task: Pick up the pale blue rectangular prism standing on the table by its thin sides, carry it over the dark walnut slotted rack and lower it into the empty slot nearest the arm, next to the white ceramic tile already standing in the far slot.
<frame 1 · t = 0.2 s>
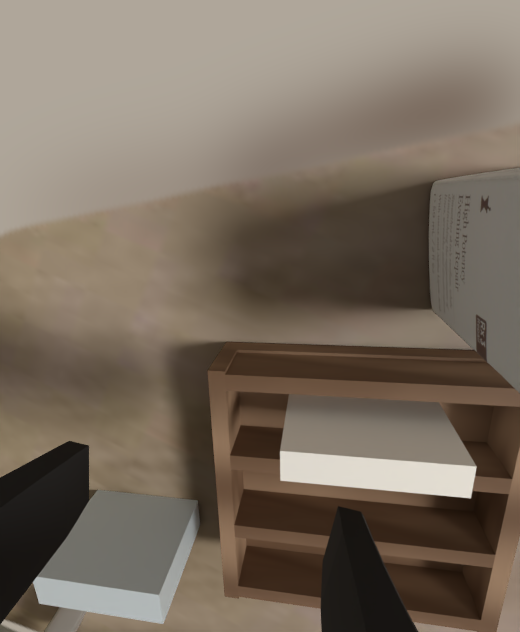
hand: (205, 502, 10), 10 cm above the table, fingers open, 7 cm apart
rack: (353, 461, 21), on the table
pale blue rectangular prism: (148, 506, 24), on the table
skincare box: (480, 245, 16), on the table
lighter: (73, 613, 29), on the table
tile: (359, 403, 18), point 1 cm above the table, touching rack
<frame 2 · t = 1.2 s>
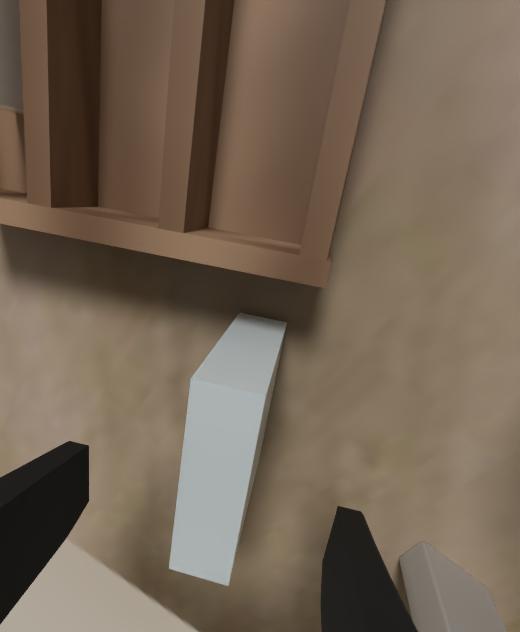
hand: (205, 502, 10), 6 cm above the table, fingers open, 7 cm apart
rack: (166, 27, 12), on the table
pale blue rectangular prism: (250, 390, 16), on the table
lighter: (465, 587, 18), on the table
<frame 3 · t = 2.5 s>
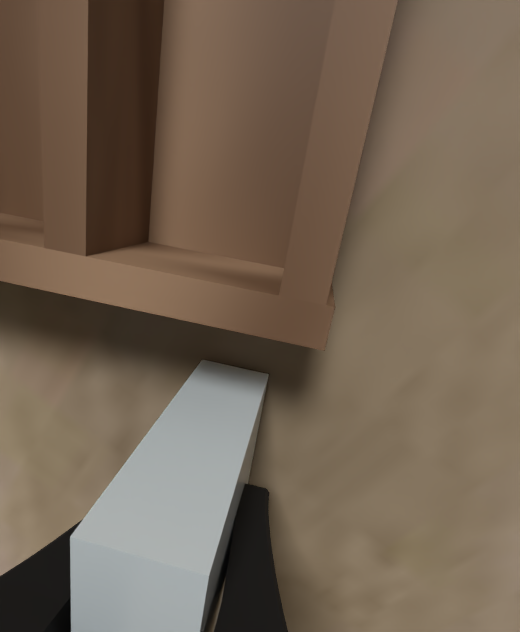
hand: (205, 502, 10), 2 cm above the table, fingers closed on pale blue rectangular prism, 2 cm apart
pale blue rectangular prism: (220, 463, 12), on the table, touching gripper
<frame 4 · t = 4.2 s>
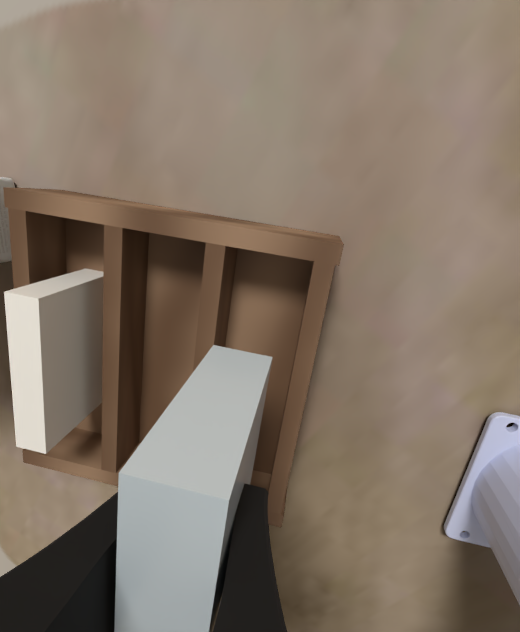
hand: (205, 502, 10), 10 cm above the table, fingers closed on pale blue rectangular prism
rack: (182, 344, 20), on the table
pale blue rectangular prism: (229, 439, 13), point 7 cm above the table, touching gripper
tile: (98, 335, 19), point 1 cm above the table, touching rack
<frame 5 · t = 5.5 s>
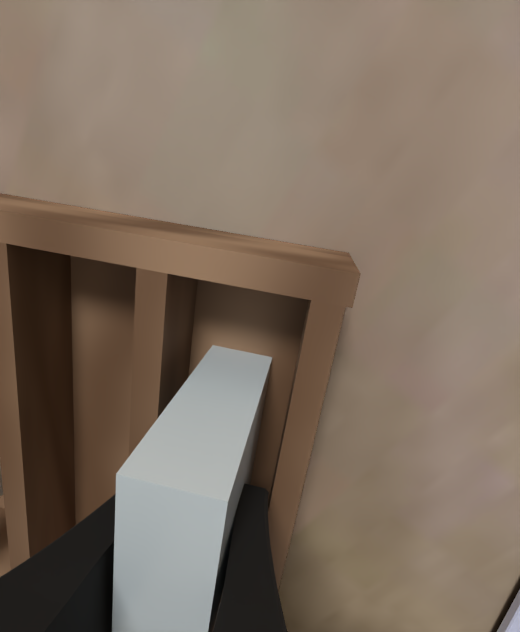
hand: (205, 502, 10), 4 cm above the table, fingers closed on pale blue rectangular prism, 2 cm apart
rack: (130, 398, 14), on the table
pale blue rectangular prism: (229, 440, 13), point 1 cm above the table, touching gripper, rack
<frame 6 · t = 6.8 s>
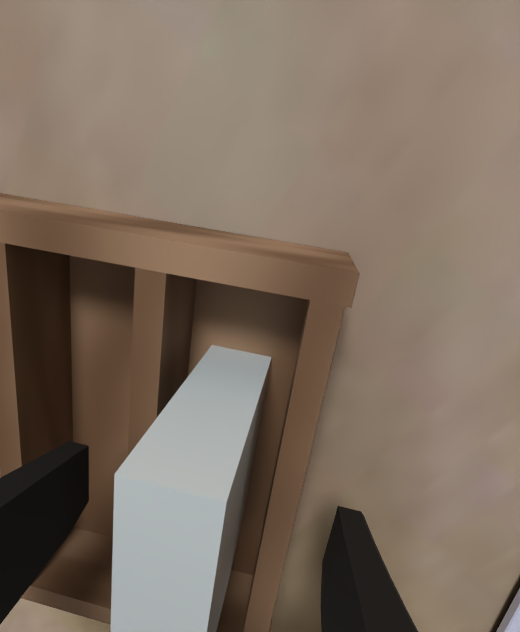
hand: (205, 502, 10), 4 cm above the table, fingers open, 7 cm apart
rack: (129, 398, 14), on the table
pale blue rectangular prism: (228, 440, 13), point 1 cm above the table, touching rack
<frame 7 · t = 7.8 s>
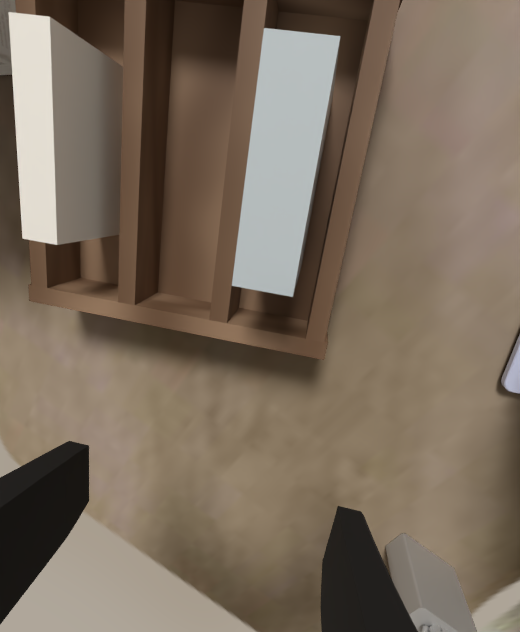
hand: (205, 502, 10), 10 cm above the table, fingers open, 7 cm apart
rack: (208, 170, 18), on the table
pale blue rectangular prism: (293, 184, 16), point 1 cm above the table, touching rack
lighter: (437, 568, 23), on the table
tile: (113, 155, 17), point 1 cm above the table, touching rack
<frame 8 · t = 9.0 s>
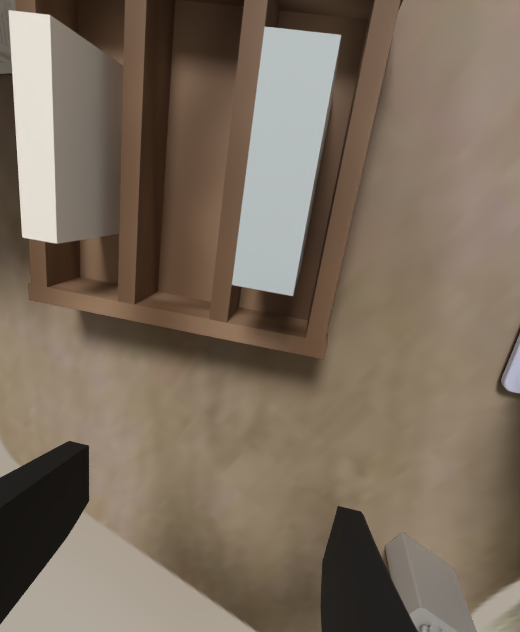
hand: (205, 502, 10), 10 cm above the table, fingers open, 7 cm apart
rack: (208, 170, 18), on the table
pale blue rectangular prism: (294, 183, 16), point 1 cm above the table, touching rack
lighter: (436, 568, 23), on the table
tile: (113, 154, 17), point 1 cm above the table, touching rack
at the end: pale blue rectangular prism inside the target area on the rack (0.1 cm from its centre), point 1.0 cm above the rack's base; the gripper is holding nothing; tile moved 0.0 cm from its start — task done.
